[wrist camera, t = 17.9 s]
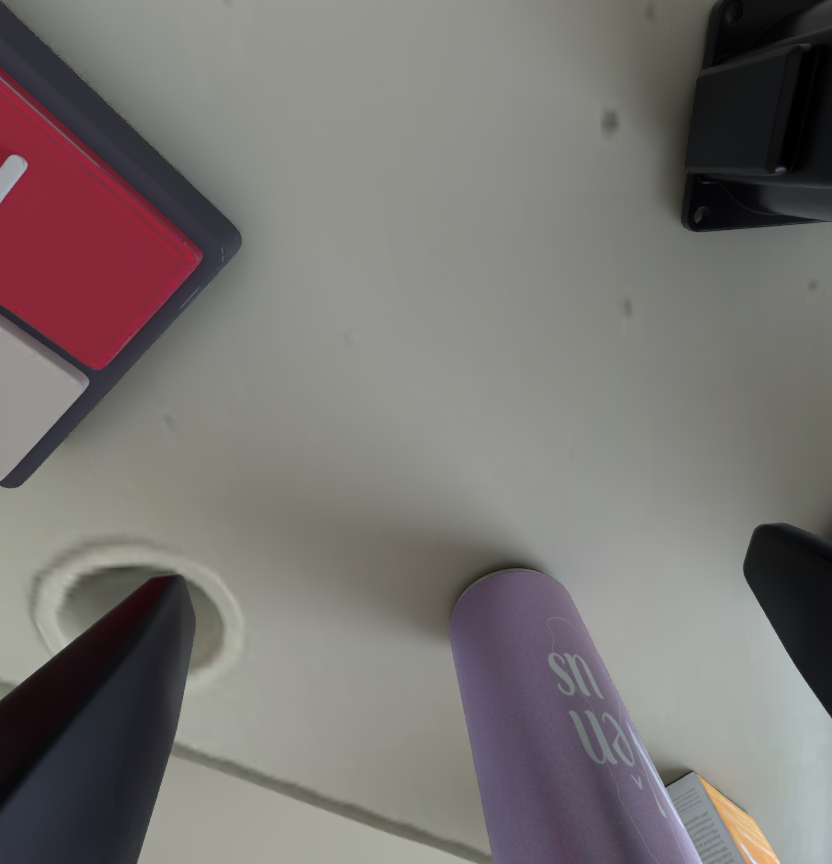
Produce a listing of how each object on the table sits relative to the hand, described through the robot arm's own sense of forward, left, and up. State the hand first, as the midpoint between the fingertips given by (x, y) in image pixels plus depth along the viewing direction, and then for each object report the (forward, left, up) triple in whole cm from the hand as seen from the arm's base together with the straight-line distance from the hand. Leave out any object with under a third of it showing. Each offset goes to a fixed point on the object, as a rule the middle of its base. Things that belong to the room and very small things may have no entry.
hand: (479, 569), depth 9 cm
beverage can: (-4, +14, -13) cm, 19 cm away
